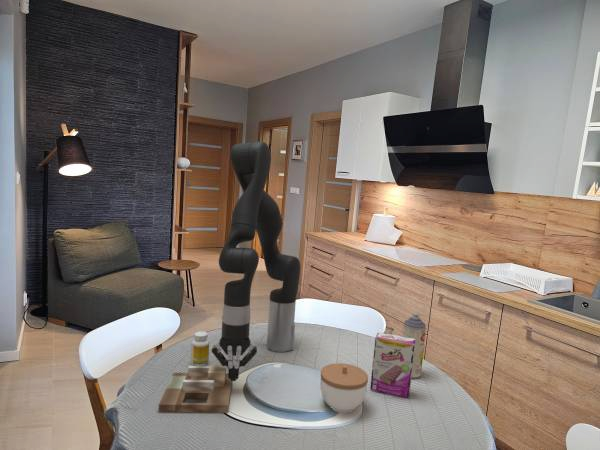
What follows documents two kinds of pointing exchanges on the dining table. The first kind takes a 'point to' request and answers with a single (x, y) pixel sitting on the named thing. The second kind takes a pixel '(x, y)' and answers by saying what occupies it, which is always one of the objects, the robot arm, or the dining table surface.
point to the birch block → (217, 375)
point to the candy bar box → (392, 364)
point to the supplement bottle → (200, 349)
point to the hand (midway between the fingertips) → (233, 379)
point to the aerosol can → (416, 331)
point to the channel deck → (195, 393)
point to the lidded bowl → (343, 386)
